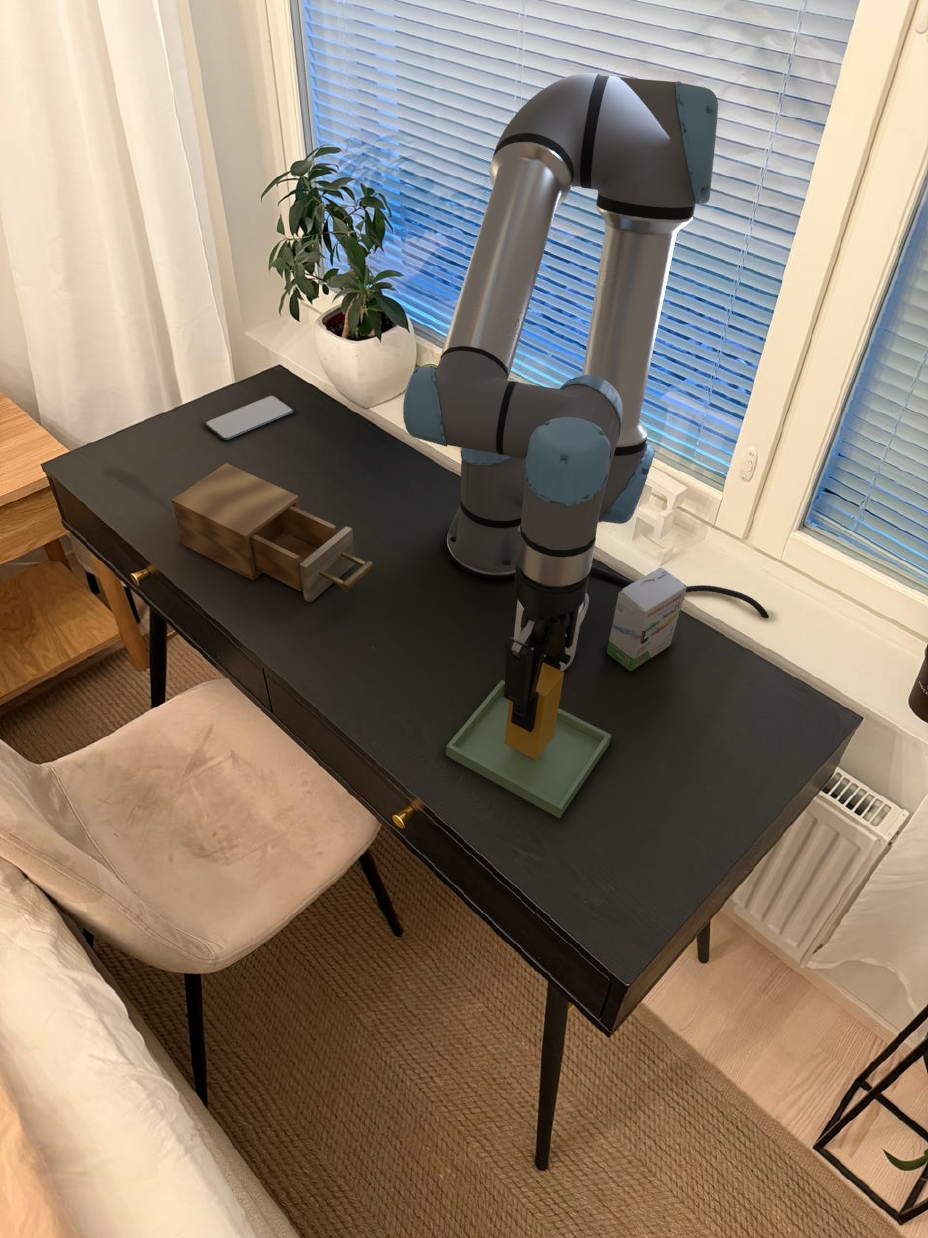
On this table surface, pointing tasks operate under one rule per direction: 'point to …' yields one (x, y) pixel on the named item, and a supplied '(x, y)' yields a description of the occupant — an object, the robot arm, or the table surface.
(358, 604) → the table surface
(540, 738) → the block
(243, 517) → the cabinet
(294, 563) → the drawer
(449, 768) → the table surface
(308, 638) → the table surface
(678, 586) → the ink box
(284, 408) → the smartphone
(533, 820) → the table surface
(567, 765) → the tray
